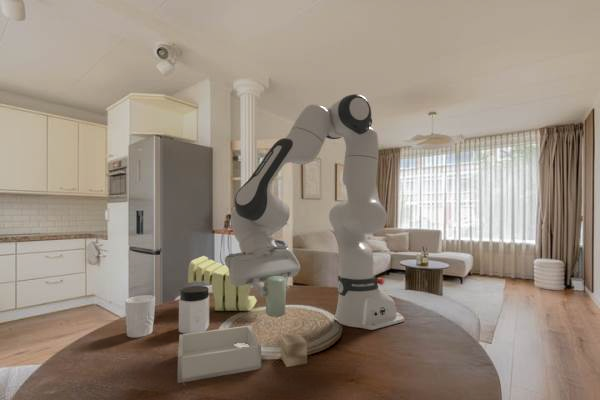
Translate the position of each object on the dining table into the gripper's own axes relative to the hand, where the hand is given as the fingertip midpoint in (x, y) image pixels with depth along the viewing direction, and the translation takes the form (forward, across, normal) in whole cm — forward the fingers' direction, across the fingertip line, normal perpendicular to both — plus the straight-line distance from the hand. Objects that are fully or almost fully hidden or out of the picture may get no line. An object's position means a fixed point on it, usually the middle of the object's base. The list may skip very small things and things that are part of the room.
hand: (275, 292), depth 81 cm
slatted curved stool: (-18, +5, +38) cm, 43 cm away
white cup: (-13, -28, +32) cm, 44 cm away
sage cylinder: (+3, 0, +4) cm, 5 cm away
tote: (+8, -15, +11) cm, 21 cm away
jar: (-8, -14, +28) cm, 33 cm away
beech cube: (+16, 0, +5) cm, 16 cm away
